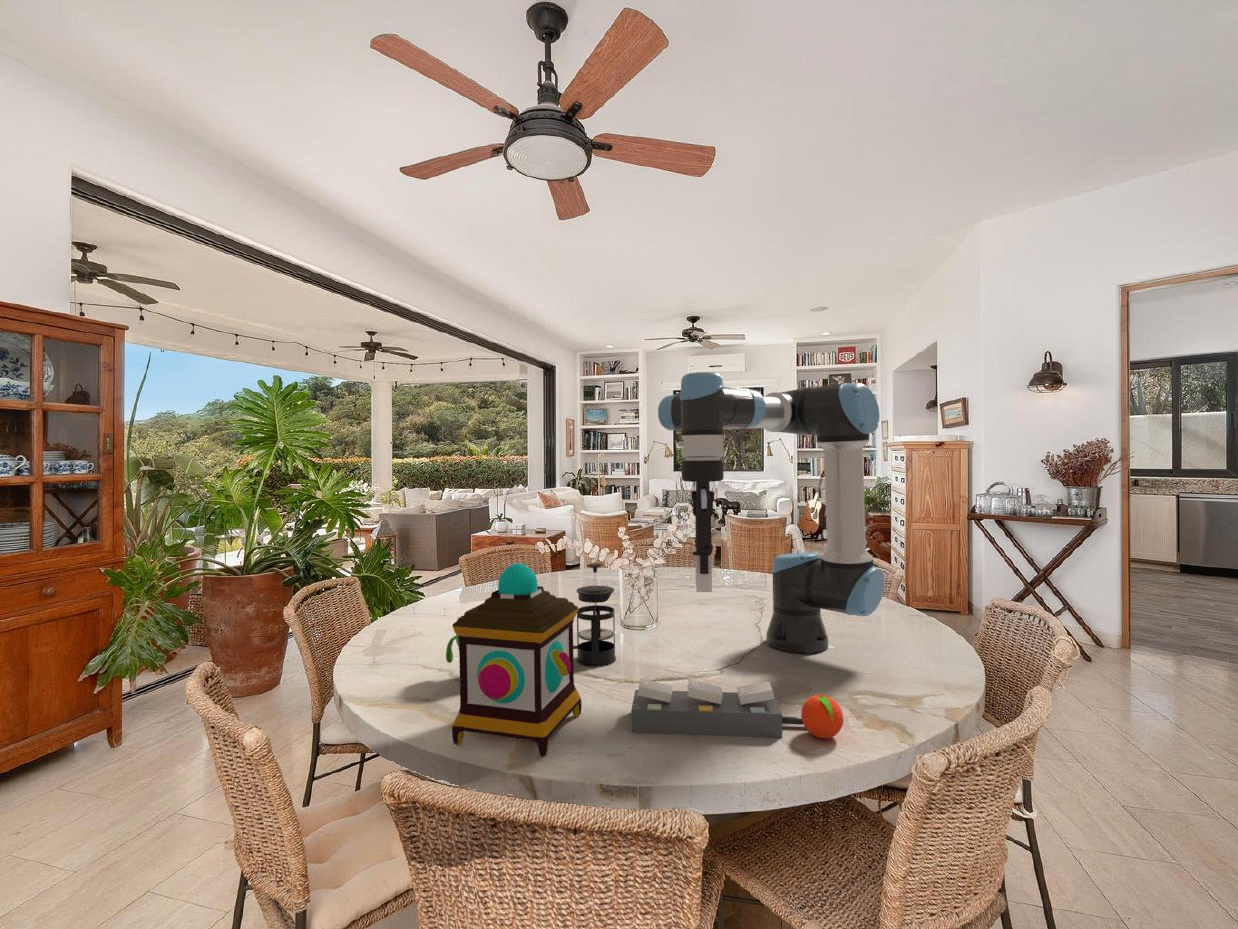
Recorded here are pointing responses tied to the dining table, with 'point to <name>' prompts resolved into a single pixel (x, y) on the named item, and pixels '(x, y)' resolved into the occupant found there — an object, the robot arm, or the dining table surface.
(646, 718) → the power strip
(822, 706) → the clementine
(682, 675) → the dining table surface
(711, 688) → the plate
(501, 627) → the decorative lantern
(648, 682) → the rocker
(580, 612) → the french press
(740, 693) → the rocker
